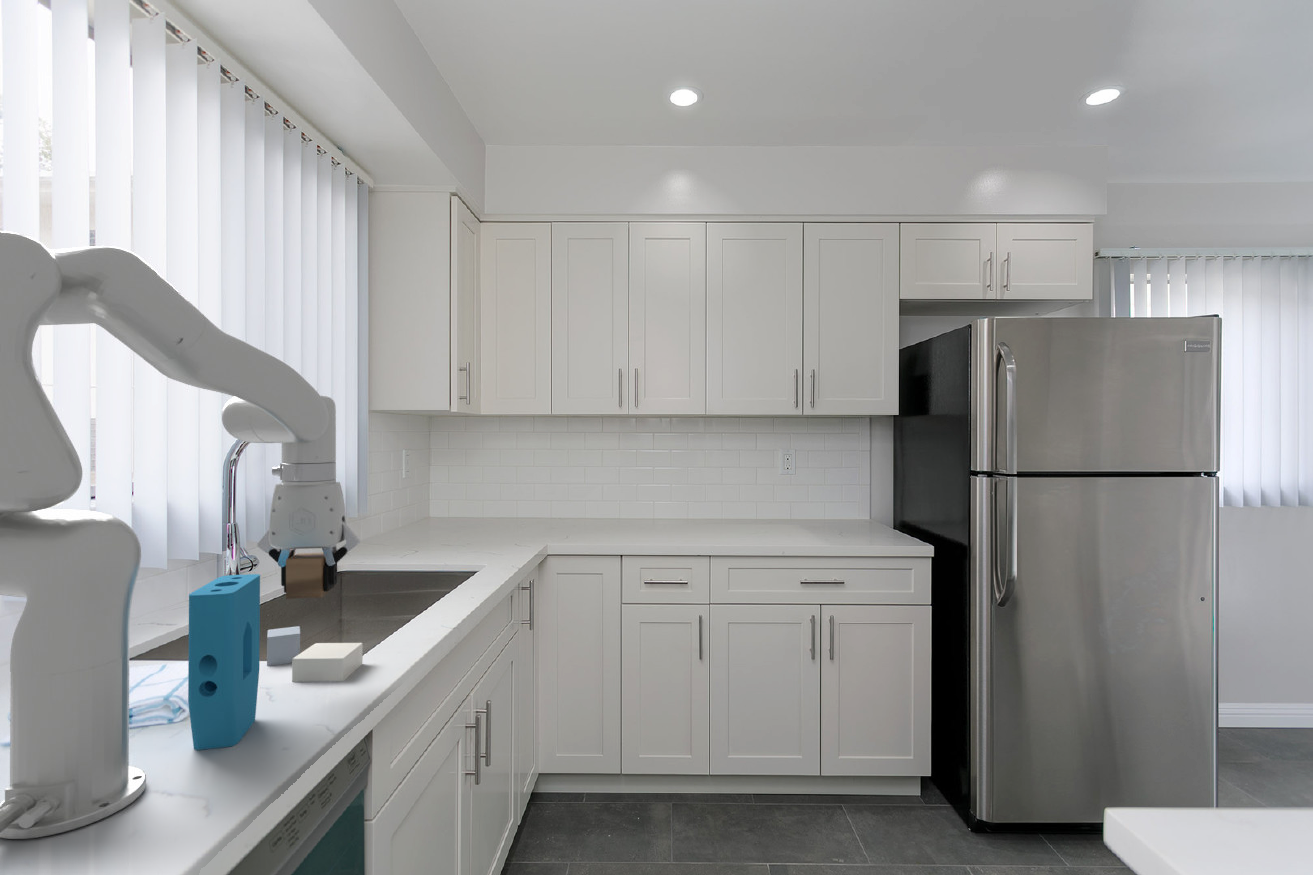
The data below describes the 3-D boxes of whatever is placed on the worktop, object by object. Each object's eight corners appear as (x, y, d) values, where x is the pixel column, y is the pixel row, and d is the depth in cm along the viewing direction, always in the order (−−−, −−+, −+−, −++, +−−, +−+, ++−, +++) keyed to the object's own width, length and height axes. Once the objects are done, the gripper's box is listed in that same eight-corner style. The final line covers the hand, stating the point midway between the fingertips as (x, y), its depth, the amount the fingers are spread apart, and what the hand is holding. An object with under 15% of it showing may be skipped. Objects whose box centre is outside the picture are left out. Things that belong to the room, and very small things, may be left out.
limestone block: (342, 682, 106) (342, 658, 106) (292, 683, 106) (292, 658, 106) (362, 665, 114) (362, 642, 114) (315, 665, 114) (315, 643, 114)
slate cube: (299, 661, 115) (300, 633, 115) (266, 666, 113) (267, 637, 113) (299, 653, 120) (299, 625, 120) (267, 657, 117) (267, 629, 117)
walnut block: (320, 597, 101) (320, 558, 100) (286, 598, 100) (285, 559, 100) (331, 589, 106) (331, 552, 105) (298, 590, 105) (298, 553, 105)
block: (231, 752, 82) (232, 593, 82) (185, 757, 81) (186, 595, 81) (260, 713, 94) (261, 573, 94) (221, 716, 92) (222, 575, 92)
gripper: (238, 476, 97) (239, 598, 98) (359, 475, 100) (359, 594, 100) (261, 472, 105) (261, 586, 105) (373, 472, 107) (373, 582, 108)
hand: (309, 588), depth 103 cm, fingers closed on walnut block, 5 cm apart
